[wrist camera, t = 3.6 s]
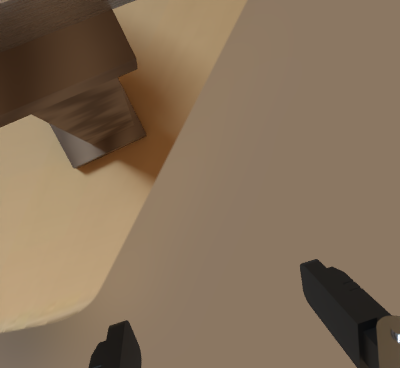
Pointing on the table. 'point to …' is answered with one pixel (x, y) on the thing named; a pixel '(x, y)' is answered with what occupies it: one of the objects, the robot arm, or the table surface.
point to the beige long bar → (45, 17)
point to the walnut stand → (74, 87)
